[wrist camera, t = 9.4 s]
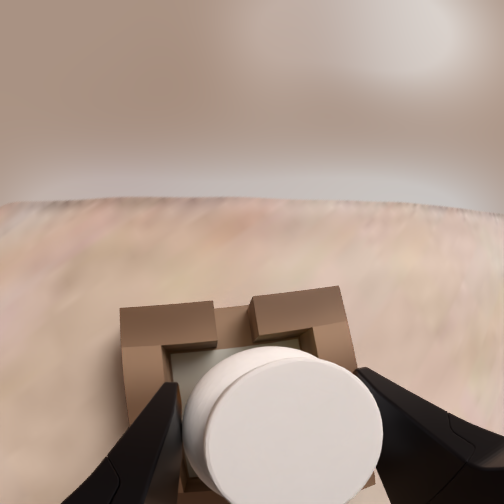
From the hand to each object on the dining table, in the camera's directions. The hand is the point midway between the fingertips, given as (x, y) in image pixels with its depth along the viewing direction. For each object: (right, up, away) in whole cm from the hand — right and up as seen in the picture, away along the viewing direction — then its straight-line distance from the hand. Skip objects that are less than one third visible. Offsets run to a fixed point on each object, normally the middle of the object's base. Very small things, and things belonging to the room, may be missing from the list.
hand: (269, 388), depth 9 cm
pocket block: (-1, -5, +7) cm, 9 cm away
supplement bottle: (-1, -4, +6) cm, 7 cm away
